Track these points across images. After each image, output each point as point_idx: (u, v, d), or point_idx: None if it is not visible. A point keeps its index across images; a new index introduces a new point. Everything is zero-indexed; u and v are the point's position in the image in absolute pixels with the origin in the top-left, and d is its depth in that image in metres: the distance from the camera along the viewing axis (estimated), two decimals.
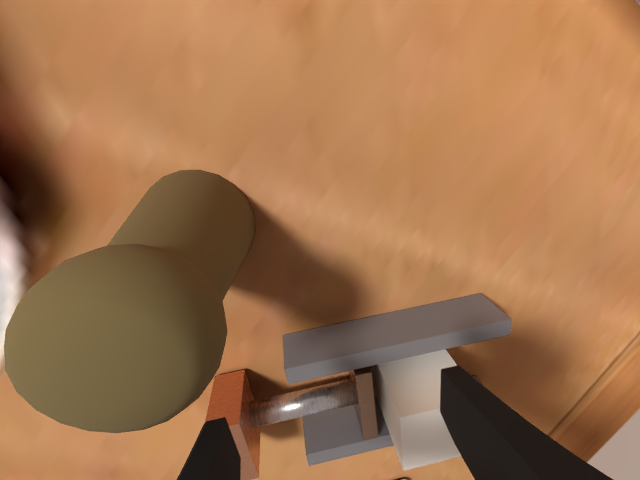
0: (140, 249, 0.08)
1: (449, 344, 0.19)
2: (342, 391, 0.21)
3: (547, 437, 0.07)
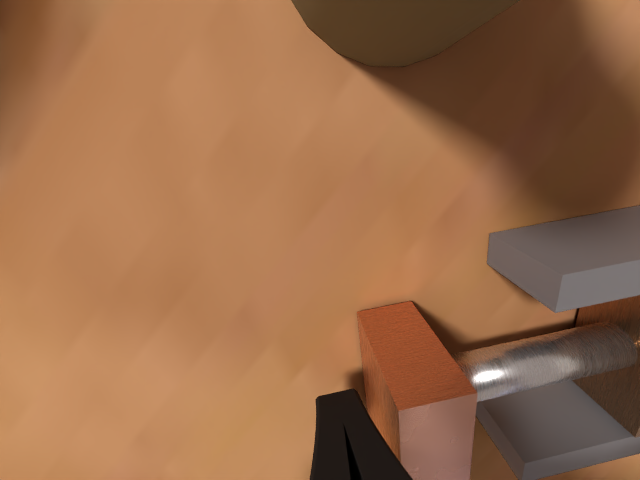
0: None
1: None
2: (607, 341, 0.11)
3: (403, 472, 0.07)
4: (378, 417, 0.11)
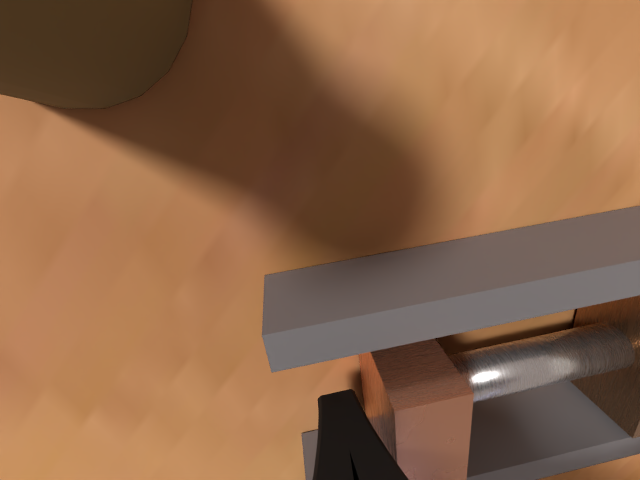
0: None
1: (630, 288, 0.09)
2: (605, 342, 0.11)
3: (399, 473, 0.07)
4: (375, 417, 0.11)
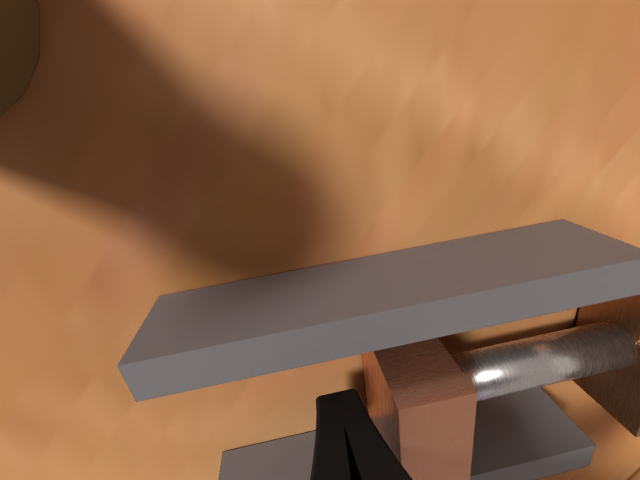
0: None
1: (515, 311, 0.08)
2: (608, 340, 0.11)
3: (402, 473, 0.07)
4: (378, 417, 0.11)
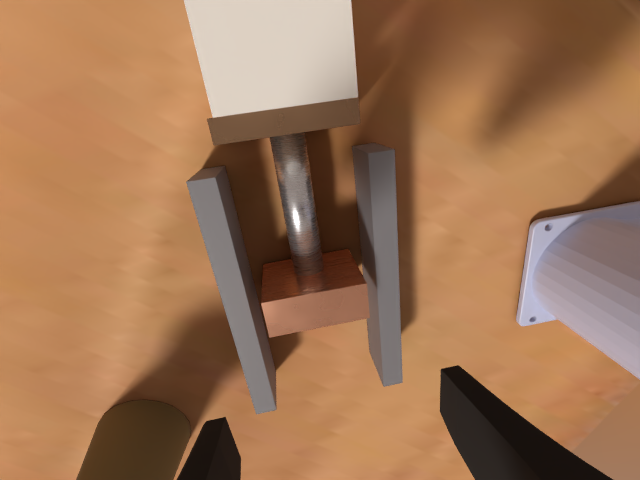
0: None
1: (230, 262, 0.15)
2: (275, 154, 0.14)
3: (547, 437, 0.07)
4: None
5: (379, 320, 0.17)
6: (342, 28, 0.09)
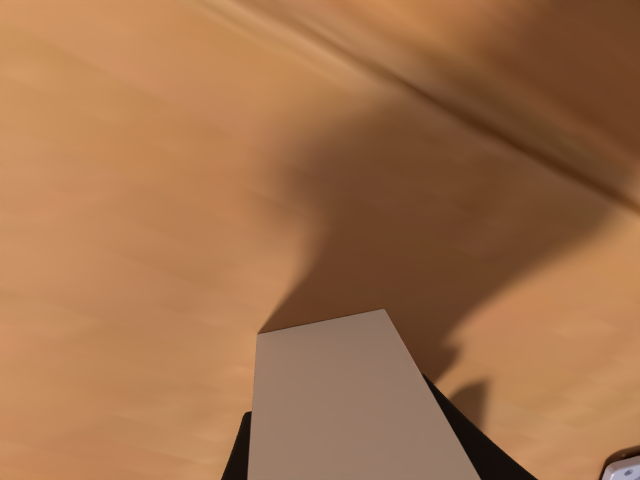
0: None
1: None
2: None
3: (498, 449, 0.07)
4: None
5: None
6: None
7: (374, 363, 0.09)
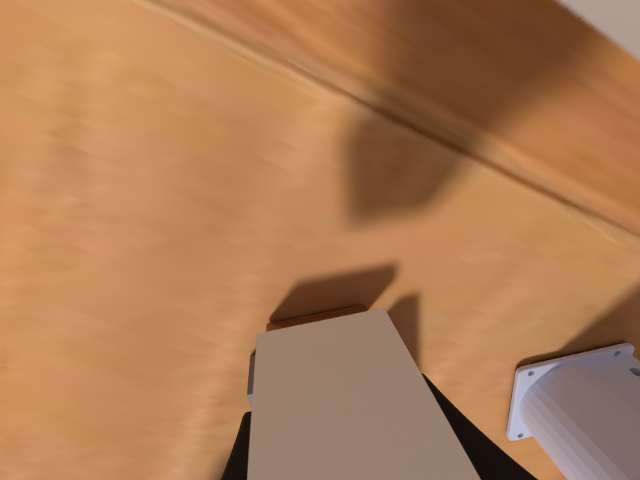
0: None
1: None
2: None
3: (498, 449, 0.07)
4: None
5: None
6: None
7: (374, 362, 0.09)
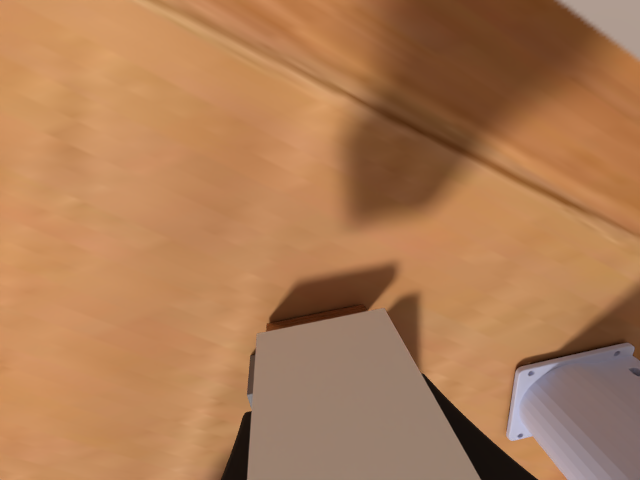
0: None
1: None
2: None
3: (498, 449, 0.07)
4: None
5: None
6: None
7: (374, 362, 0.09)
